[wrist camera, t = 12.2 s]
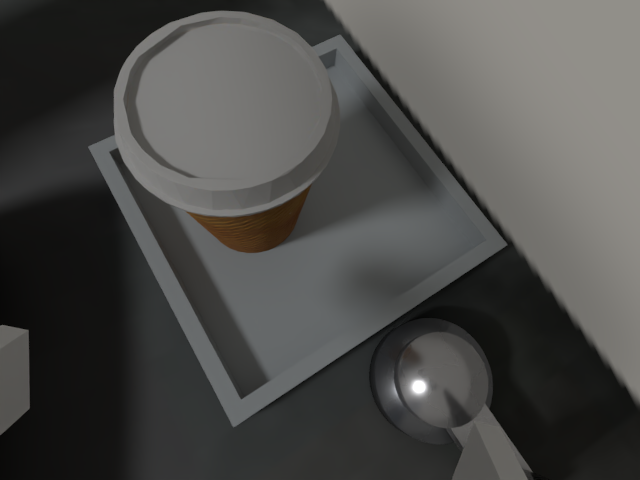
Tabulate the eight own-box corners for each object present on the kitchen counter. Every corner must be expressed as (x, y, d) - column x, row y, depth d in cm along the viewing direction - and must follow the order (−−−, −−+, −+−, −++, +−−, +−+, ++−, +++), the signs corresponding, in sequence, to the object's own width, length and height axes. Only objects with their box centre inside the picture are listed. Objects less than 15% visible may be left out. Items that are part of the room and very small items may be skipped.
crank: (376, 363, 23) (426, 358, 14) (443, 318, 24) (526, 287, 15) (504, 563, 20) (661, 704, 11) (573, 501, 21) (762, 587, 13)
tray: (105, 165, 28) (88, 146, 26) (336, 59, 33) (340, 34, 30) (239, 422, 23) (233, 427, 21) (489, 255, 28) (507, 244, 25)
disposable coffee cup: (296, 134, 29) (300, -17, 18) (341, 251, 26) (379, 162, 15) (167, 169, 27) (80, 27, 16) (201, 297, 25) (126, 236, 13)
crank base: (271, 410, 24) (270, 413, 22) (433, 302, 26) (444, 296, 25) (377, 602, 21) (385, 624, 19) (544, 458, 24) (566, 466, 22)
